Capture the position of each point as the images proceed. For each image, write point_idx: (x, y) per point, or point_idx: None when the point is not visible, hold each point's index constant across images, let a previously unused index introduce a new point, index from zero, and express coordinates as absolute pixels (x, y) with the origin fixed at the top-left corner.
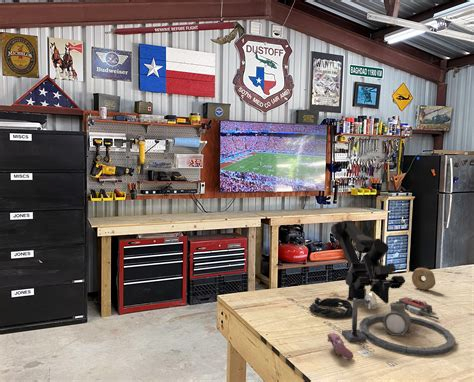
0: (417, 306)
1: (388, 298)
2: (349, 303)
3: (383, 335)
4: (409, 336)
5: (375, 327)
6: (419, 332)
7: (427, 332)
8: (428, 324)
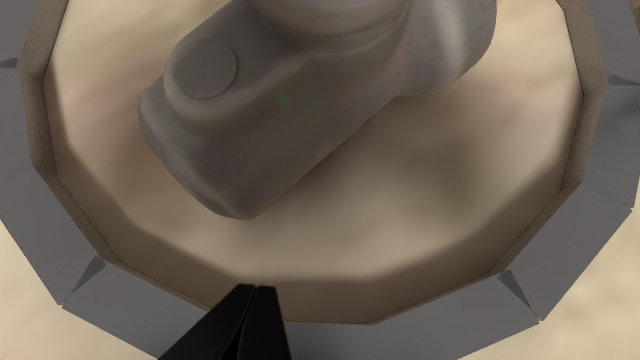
0: None
1: (198, 322)
2: None
3: None
4: None
5: (462, 194)
6: None
7: (131, 45)
8: (29, 97)
